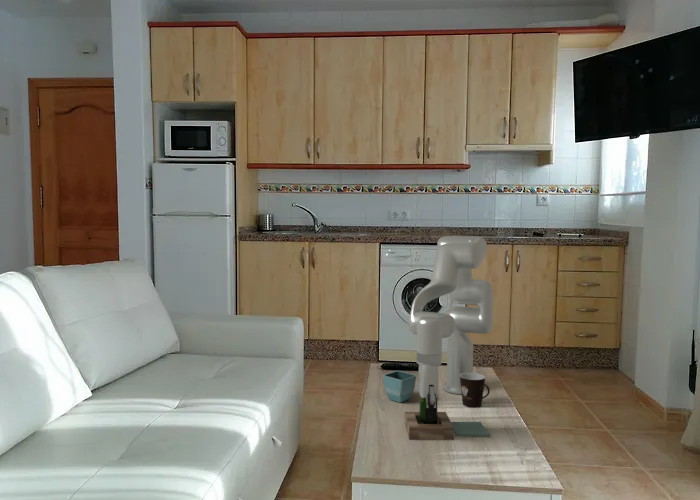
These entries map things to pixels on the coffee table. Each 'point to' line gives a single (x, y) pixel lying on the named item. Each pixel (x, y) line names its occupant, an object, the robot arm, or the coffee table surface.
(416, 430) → the holder block
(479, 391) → the coffee mug
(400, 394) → the flower pot
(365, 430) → the coffee table surface
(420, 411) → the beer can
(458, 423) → the rubber pad
